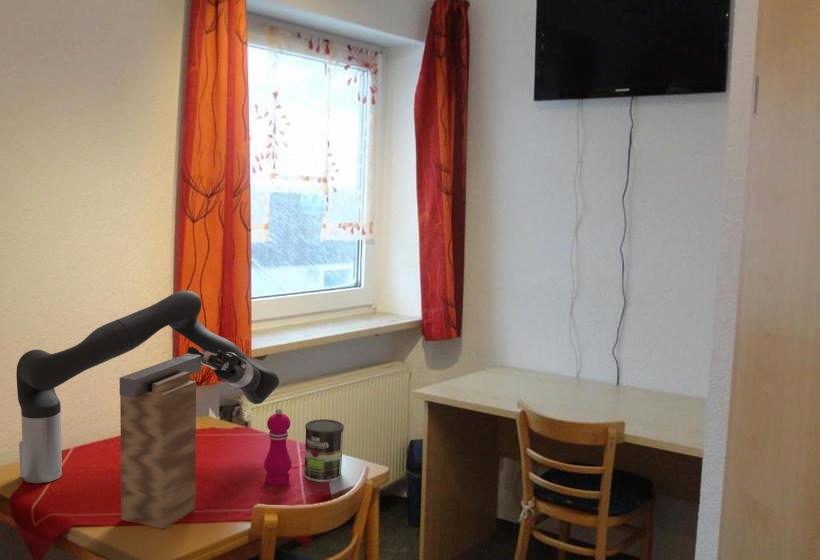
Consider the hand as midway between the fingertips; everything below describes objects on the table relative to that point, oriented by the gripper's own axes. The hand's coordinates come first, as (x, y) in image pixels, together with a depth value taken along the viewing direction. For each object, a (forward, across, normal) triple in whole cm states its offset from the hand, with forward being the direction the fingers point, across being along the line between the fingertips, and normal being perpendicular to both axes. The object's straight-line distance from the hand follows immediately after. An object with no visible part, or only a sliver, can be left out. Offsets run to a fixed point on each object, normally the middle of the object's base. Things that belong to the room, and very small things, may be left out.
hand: (203, 352), depth 206 cm
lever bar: (+12, 0, +11) cm, 17 cm away
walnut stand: (-2, 0, +40) cm, 40 cm away
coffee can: (-36, +24, +21) cm, 48 cm away
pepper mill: (-29, +15, +25) cm, 41 cm away
